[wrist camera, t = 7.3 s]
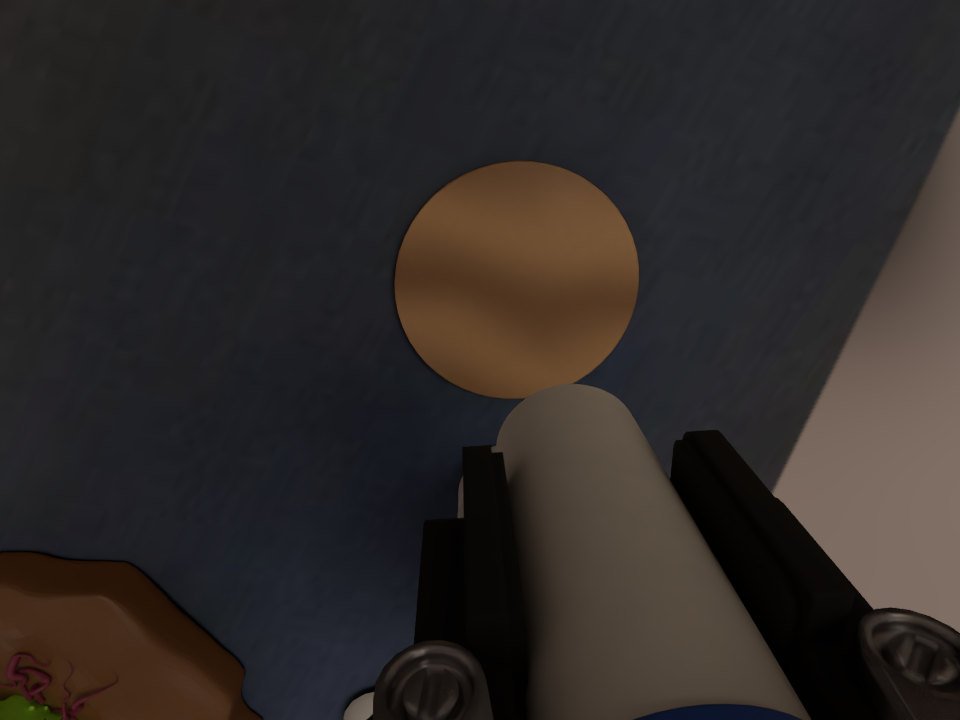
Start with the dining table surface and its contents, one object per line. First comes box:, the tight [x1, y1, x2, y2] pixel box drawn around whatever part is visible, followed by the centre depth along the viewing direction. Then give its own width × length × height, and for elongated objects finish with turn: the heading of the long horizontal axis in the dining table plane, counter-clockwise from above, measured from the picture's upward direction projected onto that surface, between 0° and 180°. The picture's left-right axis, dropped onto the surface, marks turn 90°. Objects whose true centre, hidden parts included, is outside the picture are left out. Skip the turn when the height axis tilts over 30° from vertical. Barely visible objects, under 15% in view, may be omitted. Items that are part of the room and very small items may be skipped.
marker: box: [496, 384, 811, 720], centre depth 8 cm, size 3×3×10 cm
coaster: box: [394, 161, 639, 399], centre depth 23 cm, size 10×10×1 cm
